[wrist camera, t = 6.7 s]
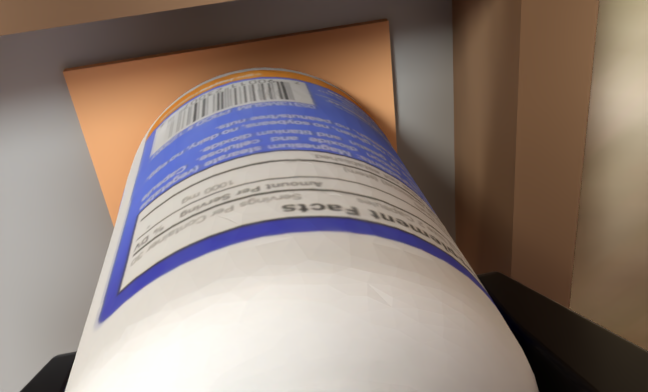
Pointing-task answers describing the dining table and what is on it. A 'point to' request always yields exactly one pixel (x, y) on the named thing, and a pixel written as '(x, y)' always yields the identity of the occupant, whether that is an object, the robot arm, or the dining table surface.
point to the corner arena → (303, 56)
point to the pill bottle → (285, 259)
